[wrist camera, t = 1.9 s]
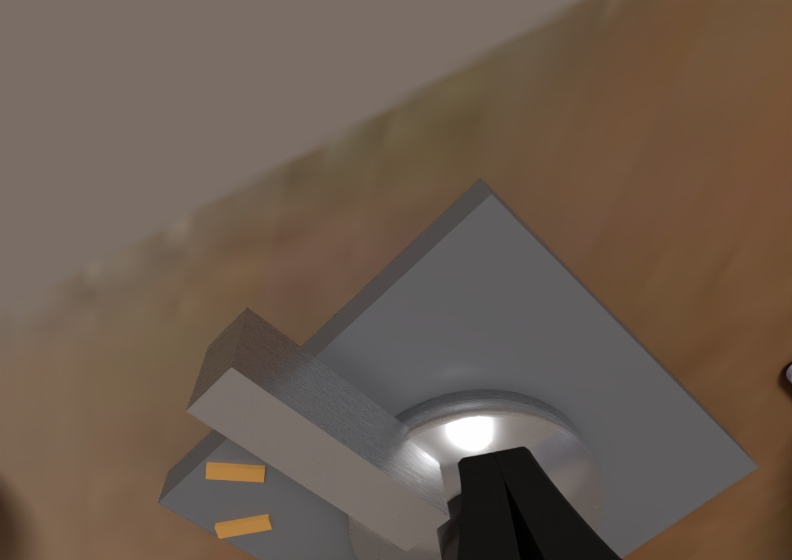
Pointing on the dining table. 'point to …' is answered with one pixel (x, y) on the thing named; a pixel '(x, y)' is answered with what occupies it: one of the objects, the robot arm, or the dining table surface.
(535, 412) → the dial
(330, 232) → the dining table surface
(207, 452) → the dial plate
